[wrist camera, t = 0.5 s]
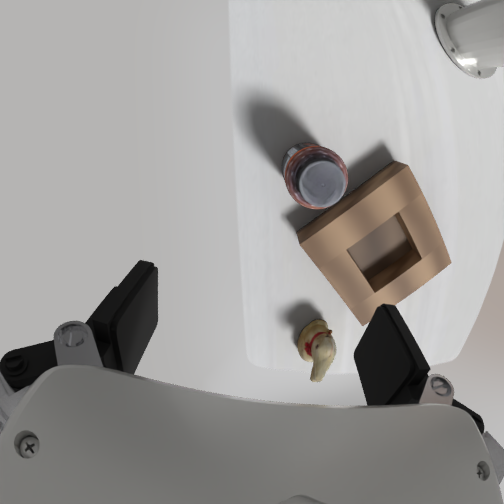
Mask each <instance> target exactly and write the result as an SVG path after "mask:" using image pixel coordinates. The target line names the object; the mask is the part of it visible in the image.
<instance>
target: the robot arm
mask: <svg viewBox="0 0 504 504" xmlns="http://www.w3.org/2000/svg"><path fill="white" fill-rule="evenodd" d="M435 26H436V31H437V34H438V37H439V39H440V41H441V44H442V46H443V47H444V49H445V51H446V52H447V54H448V55H449V57H450V58H451V59H452V61H453V62H454V63H455V64H456V65H457V66H458V67H459V68H460V69H461V70H462V71H464V72H465V73H467V74H468V75H470V76H472V77H474V78H479V79H485V78H489V77H491V76H492V75H493V74H494V73H495V71H496V69H497V67H504V0H480V1H478V2H475V3H473V4H470V5H468V6H466V7H463V6H461V5H458V4H455V3H448V4H444V5H443V6H441V7H440V8H439V9H438V10H437V12H436V15H435ZM157 322H158V268H157V267H154V263H152V262H147V261H142V260H140V261H138V263H137V264H136V265H135V266H134V267H133V269H132V270H131V271H130V272H129V274H128V275H127V276H126V277H125V278H124V279H123V281H122V282H121V283H120V284H119V286H118V287H114V288H113V289H112V290H111V291H110V293H109V294H108V295H107V296H106V297H105V299H104V300H103V301H102V302H101V304H100V305H99V306H98V307H97V309H96V310H95V311H94V313H93V314H92V315H91V316H90V318H89V319H88V320H87V322H86V323H83V322H80V321H70V322H66V323H64V324H62V325H60V326H59V327H58V328H57V329H56V331H55V333H54V340H52V341H48V342H44V343H40V344H36V345H32V346H28V347H24V348H20V349H15V350H12V351H9V352H8V353H6V354H5V355H4V356H3V358H2V359H1V362H0V504H503V500H502V495H501V491H500V487H499V484H500V482H501V481H502V479H503V477H504V449H503V448H502V447H501V446H500V444H499V443H498V442H497V441H496V440H495V439H494V438H493V437H492V436H491V435H490V434H489V433H488V432H487V431H486V432H485V433H484V423H483V420H482V418H481V416H480V415H478V414H476V413H475V412H474V411H472V410H470V409H469V408H467V407H466V406H464V405H463V404H461V403H459V402H458V401H456V400H455V399H453V396H454V388H453V386H452V384H451V382H450V381H449V380H448V379H447V378H445V377H444V376H442V375H440V374H432V375H430V376H428V374H427V373H428V372H429V370H430V367H429V365H428V363H427V361H426V359H425V357H424V355H423V354H422V352H421V350H420V348H419V346H418V344H417V343H416V341H415V339H414V337H413V335H412V334H411V332H410V330H409V328H408V327H407V325H406V323H405V321H404V320H403V318H402V316H401V314H400V313H399V311H398V309H397V308H396V306H395V305H391V304H384V303H383V304H382V305H380V306H378V307H377V308H376V310H375V312H374V314H373V316H372V319H371V321H370V323H369V325H368V327H367V328H366V330H365V332H364V334H363V336H362V338H361V340H360V342H359V344H358V346H357V347H356V349H355V351H354V360H355V363H356V367H357V370H358V373H359V377H360V380H361V383H362V387H363V390H364V394H365V398H366V401H367V405H368V406H335V405H334V406H333V405H311V404H296V403H284V402H273V401H265V400H256V399H249V398H242V397H235V396H229V395H223V394H217V393H212V392H206V391H201V390H196V389H192V388H187V387H182V386H178V385H174V384H169V383H165V382H160V381H157V380H153V379H148V378H145V377H141V376H137V375H134V373H135V370H136V368H137V366H138V364H139V362H140V360H141V358H142V355H143V353H144V351H145V349H146V347H147V345H148V343H149V341H150V339H151V337H152V335H153V333H154V330H155V328H156V326H157Z"/></svg>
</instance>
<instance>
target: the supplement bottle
mask: <svg viewBox="0 0 504 504" xmlns="http://www.w3.org/2000/svg"><path fill="white" fill-rule="evenodd" d="M282 172H283V176H284V180H285V183H286V187H287V189H288V191H289V193H290V195H291V196H292V197H293V199H294V200H295V201H297V202H298V203H299V204H301V205H302V206H304V207H307V208H310V209H323V208H327V207H330V206H332V205H333V204H335V203H337V202H338V201H339V200H340V199H341V197H342V196H343V195H344V193H345V191H346V188H347V184H348V172H347V168H346V166H345V164H344V162H343V160H342V159H341V158H340V157H339V156H338V155H337V154H336V153H335V152H333V151H332V150H330V149H327V148H325V147H322V146H319V145H316V144H312V143H302V144H298V145H296V146H294V147H292V148H291V149H290V150H289V151H288V152H287V153H286V155H285V156H284V159H283V163H282Z"/></svg>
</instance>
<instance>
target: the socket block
mask: <svg viewBox="0 0 504 504" xmlns="http://www.w3.org/2000/svg"><path fill="white" fill-rule="evenodd" d="M297 236H298V240H299V244H300V246H301V247H302V248H303V249H304V251H305V252H306V253H307V254H308V256H309V257H310V258H311V259H312V261H313V262H314V263H315V265H316V266H317V267H318V268H319V270H320V271H321V272H322V273H323V275H324V276H325V277H326V279H327V280H328V281H329V282H330V284H331V285H332V286H333V288H334V289H335V290H336V292H337V293H338V294H339V295H340V297H341V298H342V299H343V301H344V302H345V303H346V305H347V306H348V307H349V309H350V310H351V311H352V313H353V314H354V315H355V317H356V318H357V319H358V321H359V322H360V323H361V325H362V326H364V325H365V324H367V323H368V322H370V321H371V319H372V316H373V314H374V312H375V310H376V308H377V307H378V306H380V305H382V304H383V303H384V304H391V305H396V304H397V303H399V302H400V301H402V300H403V299H404V298H406V297H407V296H409V295H410V294H411V293H413V292H414V291H416V290H417V289H418V288H420V287H421V286H422V285H424V284H425V283H426V282H428V281H429V280H430V279H432V278H433V277H434V276H436V275H437V274H438V273H439V272H441V271H442V270H443V269H444V268H446V267H447V266H448V265H449V264H451V260H450V257H449V254H448V252H447V249H446V246H445V244H444V241H443V238H442V236H441V233H440V231H439V229H438V226H437V224H436V221H435V219H434V217H433V215H432V212H431V210H430V208H429V206H428V204H427V201H426V199H425V197H424V195H423V193H422V191H421V189H420V187H419V185H418V183H417V181H416V179H415V177H414V175H413V173H412V172H411V170H410V168H409V166H408V165H406V164H403V163H400V162H397V161H393V162H392V163H390V164H389V165H387V166H386V167H385V168H383V169H382V170H381V171H379V172H378V173H377V174H375V175H374V176H373V177H371V178H370V179H369V180H367V181H366V182H365V183H363V184H362V185H360V186H359V187H358V188H356V189H355V190H354V191H352V192H351V193H350V194H348V195H347V196H346V197H344V198H343V199H341V200H340V201H339V202H337V203H336V204H335V205H333V206H332V207H330V208H329V209H328V210H326V211H325V212H324V213H322V214H321V215H320V216H318V217H317V218H315V219H314V220H313V221H311V222H310V223H309V224H307V225H306V226H304V227H303V228H302V229H300V230H299V231H298V232H297Z"/></svg>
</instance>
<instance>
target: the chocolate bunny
mask: <svg viewBox="0 0 504 504" xmlns="http://www.w3.org/2000/svg"><path fill="white" fill-rule="evenodd" d="M331 333H332V330H329V329H328V325H327V323H326V322H325V321H323V320H315V321H312V322H311V323H310V324H309V325H308V326H306V327H305V328H304V329H303V330H302V332H301V334H300V337H299V339H298V343H297V347H298V352H299V354H300V356H301V358H302V359H303V360H305V361H307V362H313V368H312V372H311V377H310V379H311V381H312V382H320V381H322V379H323V377H324V376H325V373H326V371H327V370H328V369H329V367H330V365H331V363H332V362H333V360H334V357H335V354H336V345H335V341H334V339H333V337H332V335H331Z"/></svg>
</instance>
